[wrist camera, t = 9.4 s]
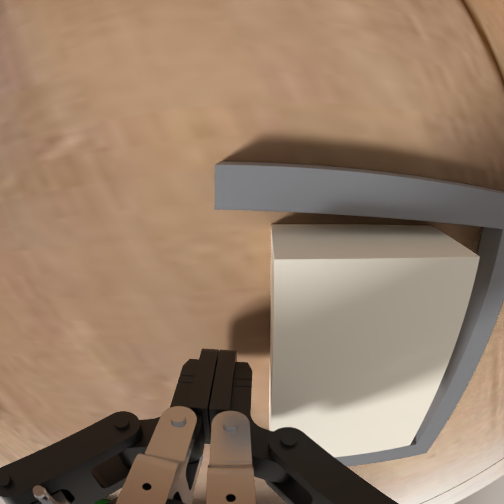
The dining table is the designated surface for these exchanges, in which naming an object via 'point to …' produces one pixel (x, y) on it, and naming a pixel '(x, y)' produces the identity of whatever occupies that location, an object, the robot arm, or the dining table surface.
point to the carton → (362, 329)
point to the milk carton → (101, 501)
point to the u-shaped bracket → (399, 207)
